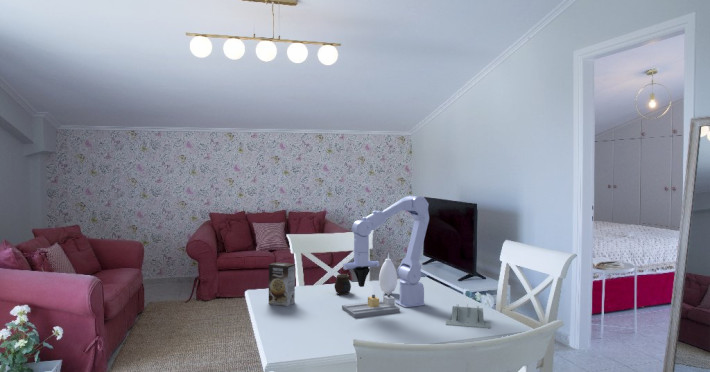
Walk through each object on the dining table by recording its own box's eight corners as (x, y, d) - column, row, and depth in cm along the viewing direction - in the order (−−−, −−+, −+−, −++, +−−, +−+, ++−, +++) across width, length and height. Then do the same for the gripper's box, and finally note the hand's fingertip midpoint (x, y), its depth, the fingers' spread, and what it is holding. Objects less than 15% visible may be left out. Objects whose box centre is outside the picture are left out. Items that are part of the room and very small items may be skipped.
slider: (374, 303, 189) (374, 293, 189) (379, 306, 185) (379, 295, 185) (367, 304, 188) (367, 294, 187) (372, 307, 184) (372, 296, 184)
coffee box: (267, 304, 194) (267, 264, 194) (276, 300, 200) (276, 261, 200) (287, 306, 191) (287, 266, 190) (295, 302, 197) (295, 263, 196)
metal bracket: (447, 300, 181) (488, 303, 178) (447, 313, 183) (488, 316, 179) (445, 322, 168) (490, 325, 164) (445, 336, 170) (489, 340, 166)
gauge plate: (385, 304, 195) (385, 290, 195) (399, 312, 184) (400, 297, 184) (341, 309, 188) (342, 294, 187) (354, 317, 177) (354, 302, 176)
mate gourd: (343, 290, 217) (343, 268, 216) (354, 293, 211) (355, 271, 211) (331, 293, 212) (331, 270, 212) (342, 296, 206) (342, 273, 206)
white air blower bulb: (375, 294, 210) (376, 253, 210) (384, 290, 217) (385, 251, 216) (391, 297, 206) (391, 255, 205) (400, 293, 212) (400, 252, 212)
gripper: (373, 248, 193) (373, 282, 193) (340, 251, 187) (340, 285, 187) (381, 251, 186) (381, 286, 187) (347, 254, 180) (347, 289, 181)
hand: (361, 286), depth 187 cm, fingers closed
